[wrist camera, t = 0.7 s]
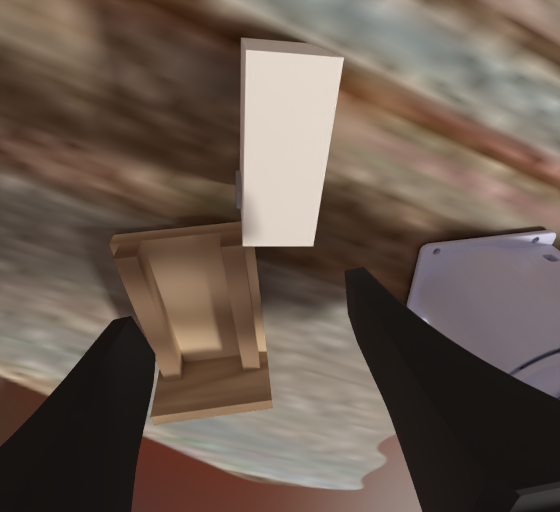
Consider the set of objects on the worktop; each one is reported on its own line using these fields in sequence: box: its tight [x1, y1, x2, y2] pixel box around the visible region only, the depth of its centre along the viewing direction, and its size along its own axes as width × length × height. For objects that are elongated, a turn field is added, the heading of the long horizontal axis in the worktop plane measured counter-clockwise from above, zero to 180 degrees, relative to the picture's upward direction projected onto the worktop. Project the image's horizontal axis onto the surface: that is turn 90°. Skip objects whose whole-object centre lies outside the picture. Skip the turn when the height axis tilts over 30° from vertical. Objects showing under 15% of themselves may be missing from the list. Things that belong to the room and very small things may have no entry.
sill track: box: [109, 222, 273, 425], centre depth 21 cm, size 12×8×5 cm, turn 3°
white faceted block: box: [236, 38, 344, 246], centre depth 15 cm, size 3×7×6 cm, turn 175°
